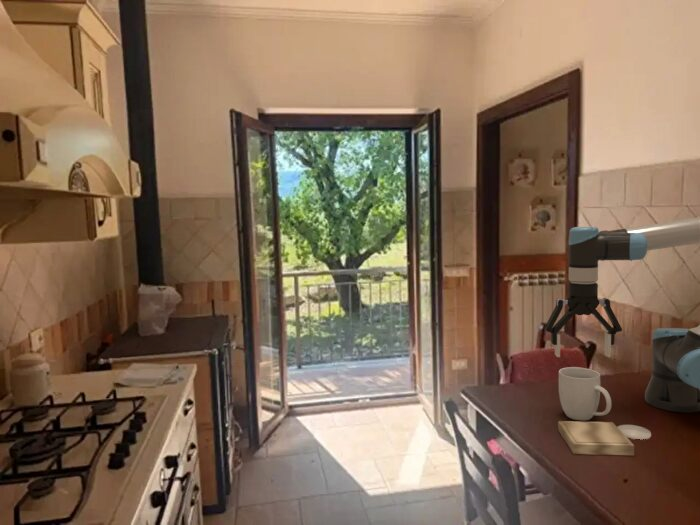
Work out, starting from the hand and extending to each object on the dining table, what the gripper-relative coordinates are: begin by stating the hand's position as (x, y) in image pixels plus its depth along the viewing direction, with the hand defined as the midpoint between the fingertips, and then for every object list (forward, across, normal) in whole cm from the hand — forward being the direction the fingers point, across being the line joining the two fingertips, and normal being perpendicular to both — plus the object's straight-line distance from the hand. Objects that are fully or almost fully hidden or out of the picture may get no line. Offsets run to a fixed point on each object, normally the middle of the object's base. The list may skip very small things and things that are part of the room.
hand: (582, 356), depth 146 cm
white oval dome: (+18, -10, +10) cm, 23 cm away
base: (+18, +2, +16) cm, 24 cm away
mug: (+18, 0, 0) cm, 18 cm away
